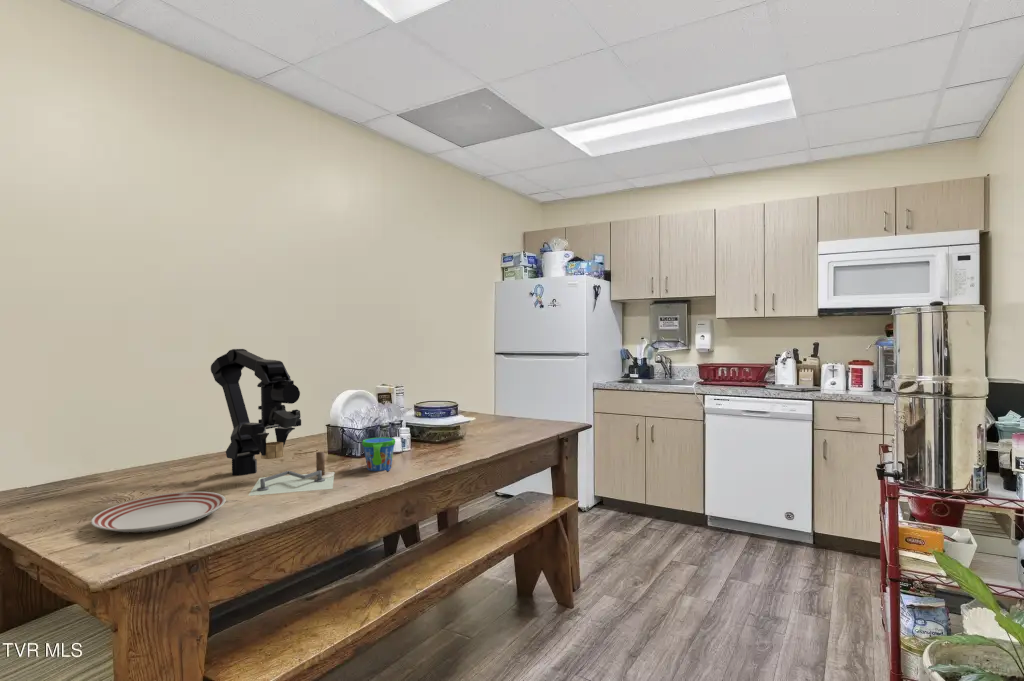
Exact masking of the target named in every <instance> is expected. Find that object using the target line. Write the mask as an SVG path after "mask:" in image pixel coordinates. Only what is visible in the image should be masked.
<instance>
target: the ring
mask: <svg viewBox="0 0 1024 681" xmlns="http://www.w3.org/2000/svg"><path fill="white" fill-rule="evenodd" d="M284 454H285V453H284V448H283V442H277V441H271V442H266V455H265V456H263V455H262V454H261V453H260V457H261V458H260V459H263V460H273V459H279V458H283V457H284Z"/></svg>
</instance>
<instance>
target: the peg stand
mask: <svg viewBox="0 0 1024 681" xmlns="http://www.w3.org/2000/svg"><path fill="white" fill-rule="evenodd" d="M315 454H316V455H315V458H316V462H315V463H316V470H315V472H316V471H319V470H321V471H322V478H324V479H326V478H330V477H333V476H334V477H335V473H332V472H333V471H325V470H326V469H325V466H326V465H325V464H326V463H325V462H326V461H325V451H317V452H316V453H315ZM308 479H314V480H315V479H318V478H317V475H315V476H312V477H309V478H308Z"/></svg>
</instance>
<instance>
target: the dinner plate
mask: <svg viewBox="0 0 1024 681" xmlns="http://www.w3.org/2000/svg"><path fill="white" fill-rule="evenodd" d="M225 503H226V497H225V496H224V495H223V494H220V493H218V492H217V493H216V492H213V491H211V492H210V491H185V492H184V491H183V492H171V493H164V494H163V493H162V494H157V495H152V496H146V497H142V498H138V499H133V500H130V501H126V502H125V501H124V502H122V503H120V504H119V503H118V504H117V505H114V506H110V507H109V508H107V509H106V508H105V509H104V510H102V511H100V512H99V513H97V514H96V515H94V516H93V517H92V518H91V521H90V523H91V525H92V527H95V528H96V529H101V530H104V531H105V530H106V531H111V532H112V531H113V532H120V533H129V532H142V533H150V532H149V531H153V532H159V531H158V530H160V531H166V530H170V529H169V528H171V529H175V528H179V527H183V526H186V525H190V524H191V523H194V522H197V521H199V520H201V519H202V518H205V517H206V516H209V515H211V514H212V513H215V512H216V511H218V510H219V509H220V508H221V507H222V506H223V505H225ZM198 519H199V520H198ZM196 520H197V521H196ZM182 525H183V526H182ZM178 526H179V527H178ZM174 527H175V528H174ZM165 529H166V530H165Z"/></svg>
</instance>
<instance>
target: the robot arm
mask: <svg viewBox="0 0 1024 681" xmlns="http://www.w3.org/2000/svg"><path fill="white" fill-rule="evenodd" d="M245 368H247V369H249V370H251V371H252V372H254V376H255V377H256V378H258V379H259V380H260V381H259V382H258V383H257V385H256V386H257V388H260V405H258V407H257V410H259V411H260V410H261V412H260V413H261V419H258V422H250V418H249V414H248V411H247V407H246V403H245V401H244V400H245V399H244V398H243V392H242V389H241V386H240V380H241V377H242V374H243V373H242V370H243V369H245ZM210 372H211V374H212V377H213V378H214V381H215V382H216V383H217V384H218V385H219V386H220V387H222V390H223V394H224V398H225V401H226V405H227V409H228V413H229V416H230V420H231V423H232V428H233V430H232V432H231V434H230V443H229V445H228V446H227V449H225V450H226V451H225V456H226V458H227V459H230V460H231V474H232V476H246V475H251V474H253V475H254V474H256V473H257V471H258V467H257V466H258V460H257V458H255V457H256V455H258V456H259V455H261V454H262V455H263V456H265V455H266V443H267V438H268V436H269V434H270V433H269V432H267V430H269V429H274V434H275V439H276V442H283V449H284V448H285V445H286V442H287V439H288V437H289V434H290V433H291V432H292V431H293V430H295V429H296V427H301V426H302V419H301V411H300V410H299V409H297V408H296V409H292V410H289V411H287V410H286V405H285V404H289V405H293V404H295V403H297V401H298V400H299V399H300V396H301V392H300V389H299V387H298V386H297V385H296V384H294V382H295V381H294V380H292V379H291V376H290V374H289V372H288V371H287V368H286V367H285V364H284V363H283V361H281V360H276V359H266V358H263V357H260V356H258V355H256V354H254V353H252V352H249V351H248V350H247V349H245V348H232V349H230V350H228V351H227V352H226V353H225V354H222V355H221V356H219V357H216V359H215V360H214V361H213V362H212V363H211V365H210Z"/></svg>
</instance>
